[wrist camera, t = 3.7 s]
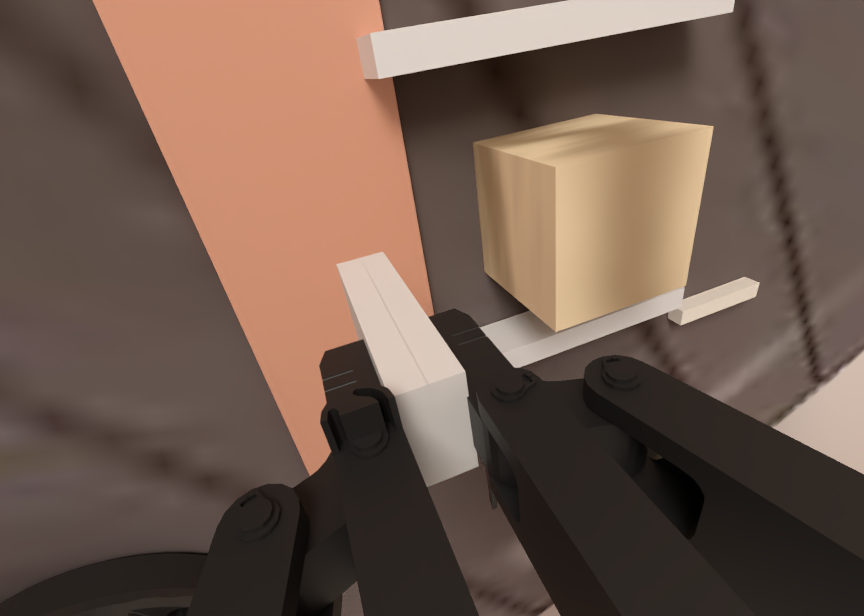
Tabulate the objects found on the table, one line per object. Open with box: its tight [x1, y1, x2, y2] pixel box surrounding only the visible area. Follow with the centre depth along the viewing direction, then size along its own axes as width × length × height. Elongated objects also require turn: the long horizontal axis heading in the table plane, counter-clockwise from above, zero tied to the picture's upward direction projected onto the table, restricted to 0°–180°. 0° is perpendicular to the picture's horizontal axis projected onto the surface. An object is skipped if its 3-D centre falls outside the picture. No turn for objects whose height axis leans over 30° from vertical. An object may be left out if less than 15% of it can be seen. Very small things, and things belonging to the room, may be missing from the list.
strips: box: [668, 277, 759, 325], centre depth 22 cm, size 6×20×1 cm, turn 9°
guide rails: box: [356, 0, 735, 368], centre depth 19 cm, size 14×14×2 cm
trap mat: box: [93, 0, 434, 476], centre depth 18 cm, size 8×28×1 cm, turn 9°
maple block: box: [473, 114, 714, 332], centre depth 18 cm, size 6×6×6 cm
